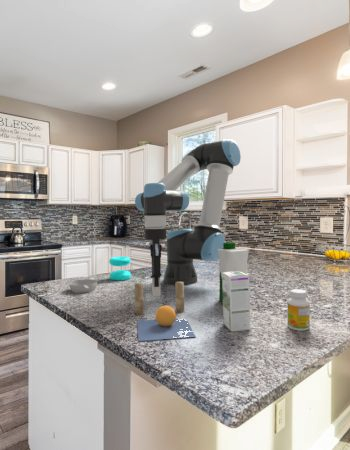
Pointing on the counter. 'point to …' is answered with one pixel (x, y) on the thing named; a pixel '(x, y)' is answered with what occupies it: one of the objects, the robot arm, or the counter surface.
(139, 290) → the left post
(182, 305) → the right post
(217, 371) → the counter surface
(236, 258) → the milk carton
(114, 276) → the donuts
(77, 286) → the saucepan
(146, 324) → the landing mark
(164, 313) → the ball
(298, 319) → the supplement bottle
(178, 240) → the robot arm
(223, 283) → the syrup box
